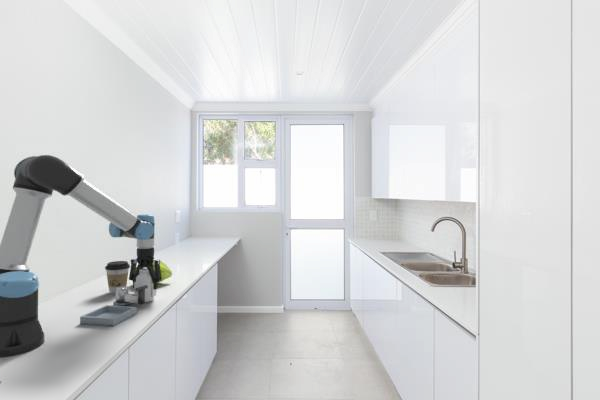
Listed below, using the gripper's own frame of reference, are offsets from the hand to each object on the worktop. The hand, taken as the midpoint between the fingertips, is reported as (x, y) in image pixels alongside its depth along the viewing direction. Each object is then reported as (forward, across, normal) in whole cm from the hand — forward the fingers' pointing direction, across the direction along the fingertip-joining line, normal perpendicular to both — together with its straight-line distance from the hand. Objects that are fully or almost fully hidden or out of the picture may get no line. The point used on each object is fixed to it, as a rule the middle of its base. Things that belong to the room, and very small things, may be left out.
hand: (145, 295), depth 161 cm
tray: (+2, 0, +24) cm, 25 cm away
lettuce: (+3, +14, -28) cm, 31 cm away
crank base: (+2, +7, +3) cm, 7 cm away
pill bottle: (+2, 0, 0) cm, 2 cm away
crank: (+1, +2, +8) cm, 9 cm away
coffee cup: (+2, +22, -10) cm, 24 cm away
